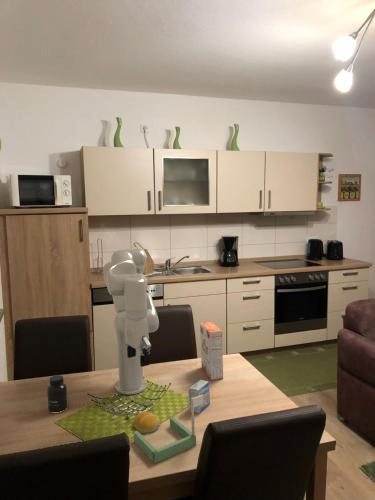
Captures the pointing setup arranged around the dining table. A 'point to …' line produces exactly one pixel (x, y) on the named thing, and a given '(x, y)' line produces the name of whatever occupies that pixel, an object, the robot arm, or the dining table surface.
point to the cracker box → (211, 350)
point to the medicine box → (200, 389)
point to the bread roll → (146, 422)
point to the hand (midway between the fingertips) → (138, 361)
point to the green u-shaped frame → (177, 446)
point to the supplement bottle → (57, 394)
